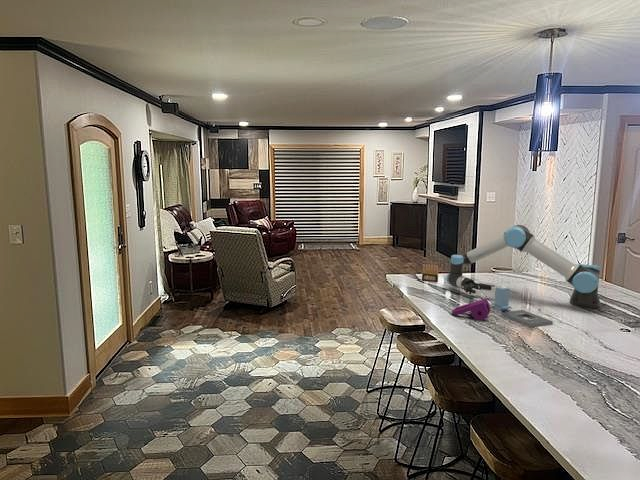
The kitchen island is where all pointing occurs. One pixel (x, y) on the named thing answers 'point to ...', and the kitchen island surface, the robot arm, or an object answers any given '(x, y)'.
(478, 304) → the mounting bracket
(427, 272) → the ammunition clip
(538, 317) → the plate
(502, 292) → the block
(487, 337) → the kitchen island surface
